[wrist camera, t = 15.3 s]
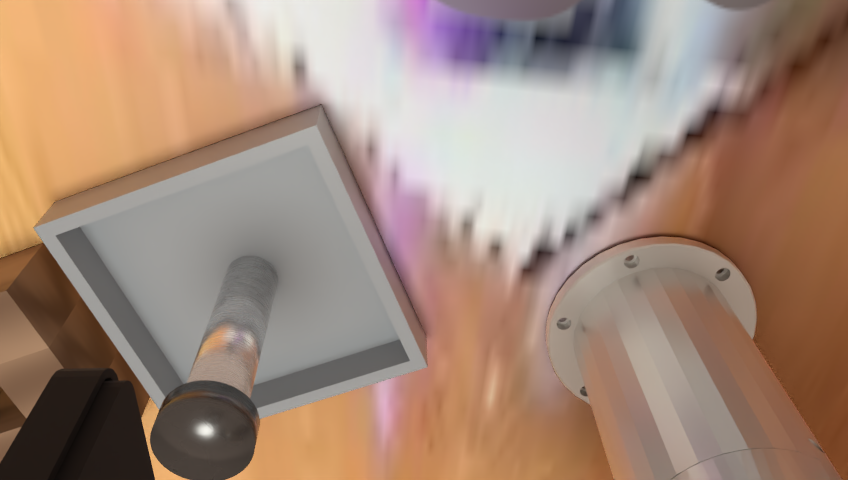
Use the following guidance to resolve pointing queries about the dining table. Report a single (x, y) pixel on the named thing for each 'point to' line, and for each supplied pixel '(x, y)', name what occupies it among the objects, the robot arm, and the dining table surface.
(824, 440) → the dining table surface
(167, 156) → the dining table surface
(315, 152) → the grey tray
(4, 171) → the dining table surface
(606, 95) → the dining table surface
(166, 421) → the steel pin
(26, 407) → the walnut block
